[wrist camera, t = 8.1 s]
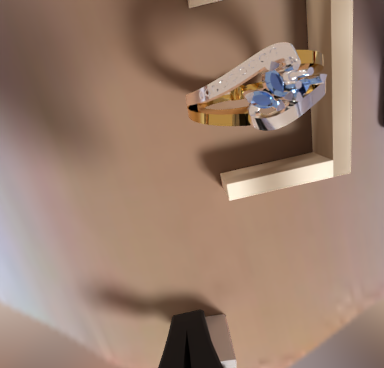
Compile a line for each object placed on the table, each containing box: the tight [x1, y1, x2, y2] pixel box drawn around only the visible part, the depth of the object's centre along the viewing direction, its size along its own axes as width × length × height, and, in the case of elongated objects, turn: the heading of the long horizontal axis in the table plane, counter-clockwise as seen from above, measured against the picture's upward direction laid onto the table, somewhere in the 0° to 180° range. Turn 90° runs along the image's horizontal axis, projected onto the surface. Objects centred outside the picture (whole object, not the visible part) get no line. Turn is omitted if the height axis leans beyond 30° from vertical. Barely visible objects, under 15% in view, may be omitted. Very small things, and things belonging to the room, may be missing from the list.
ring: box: [185, 42, 327, 131], centre depth 13 cm, size 7×3×8 cm, turn 98°
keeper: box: [188, 0, 353, 201], centre depth 15 cm, size 8×13×2 cm, turn 13°
